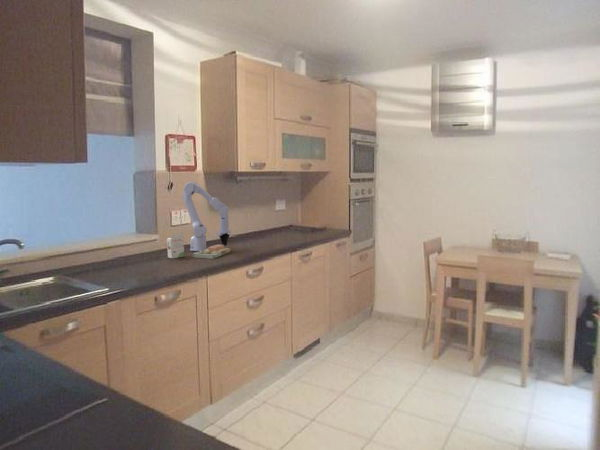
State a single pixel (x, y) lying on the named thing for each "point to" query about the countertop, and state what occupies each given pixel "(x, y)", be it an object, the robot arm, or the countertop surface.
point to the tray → (206, 255)
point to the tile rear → (220, 246)
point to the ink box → (175, 245)
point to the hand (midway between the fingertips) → (224, 245)
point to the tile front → (213, 248)
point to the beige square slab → (223, 251)
